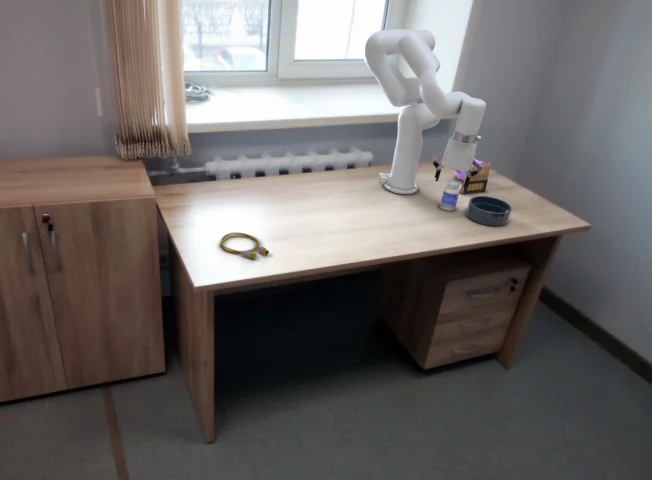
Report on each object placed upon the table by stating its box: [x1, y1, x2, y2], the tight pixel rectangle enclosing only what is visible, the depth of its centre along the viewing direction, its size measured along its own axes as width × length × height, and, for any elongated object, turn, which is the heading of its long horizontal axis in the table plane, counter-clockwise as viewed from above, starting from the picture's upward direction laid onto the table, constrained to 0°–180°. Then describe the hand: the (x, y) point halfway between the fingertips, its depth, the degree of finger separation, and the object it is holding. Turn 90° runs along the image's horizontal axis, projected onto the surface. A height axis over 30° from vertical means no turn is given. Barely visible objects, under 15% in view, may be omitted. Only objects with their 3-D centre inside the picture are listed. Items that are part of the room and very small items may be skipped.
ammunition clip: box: [459, 161, 492, 195], centre depth 202 cm, size 11×2×12 cm, turn 111°
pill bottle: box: [439, 180, 460, 212], centre depth 189 cm, size 5×5×10 cm
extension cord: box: [220, 232, 270, 260], centre depth 158 cm, size 12×16×2 cm
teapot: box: [454, 157, 486, 182], centre depth 212 cm, size 10×15×9 cm
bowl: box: [465, 195, 513, 227], centre depth 185 cm, size 14×14×5 cm
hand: (450, 183), depth 187 cm, fingers open, 9 cm apart
